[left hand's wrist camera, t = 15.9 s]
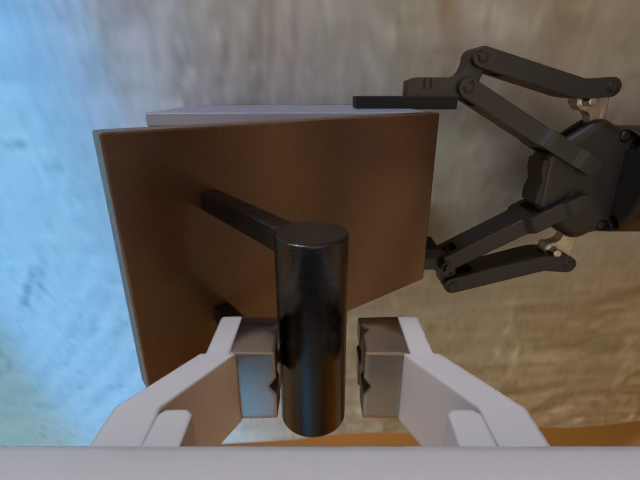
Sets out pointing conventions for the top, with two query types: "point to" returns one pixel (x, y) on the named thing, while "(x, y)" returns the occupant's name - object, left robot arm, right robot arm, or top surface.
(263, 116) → the chest
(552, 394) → the top surface
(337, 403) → the block with bar handle
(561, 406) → the top surface
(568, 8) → the top surface
